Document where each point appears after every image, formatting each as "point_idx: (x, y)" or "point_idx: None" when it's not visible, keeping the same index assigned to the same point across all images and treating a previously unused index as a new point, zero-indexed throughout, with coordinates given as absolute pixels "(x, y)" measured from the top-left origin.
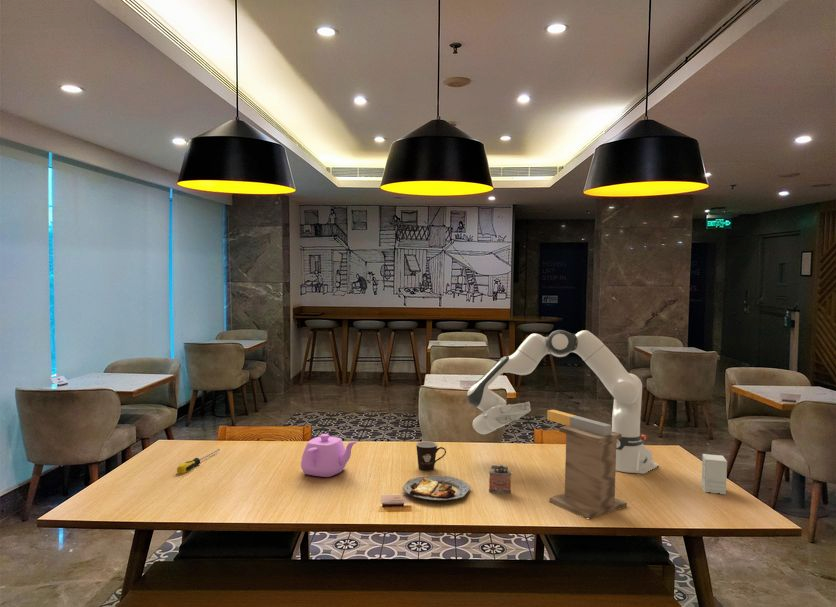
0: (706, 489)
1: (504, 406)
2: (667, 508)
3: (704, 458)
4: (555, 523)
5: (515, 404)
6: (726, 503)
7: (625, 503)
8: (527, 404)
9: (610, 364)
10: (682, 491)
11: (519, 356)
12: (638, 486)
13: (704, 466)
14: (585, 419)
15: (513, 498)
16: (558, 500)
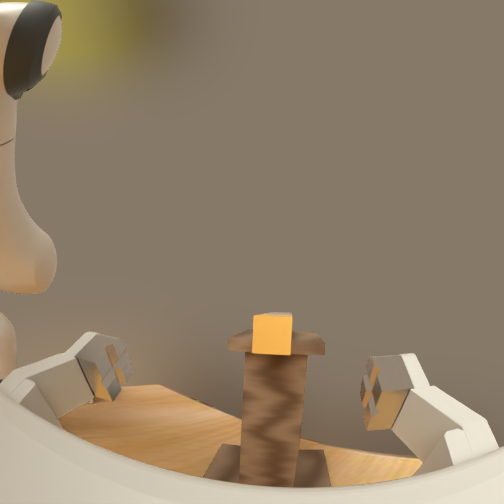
0: (92, 399)
1: (449, 401)
2: (184, 426)
3: None
4: (381, 458)
5: (83, 440)
6: (122, 399)
7: (226, 444)
8: (128, 358)
9: (16, 185)
10: (101, 415)
11: None
12: (107, 444)
13: None
14: (278, 313)
15: None
16: (326, 485)
